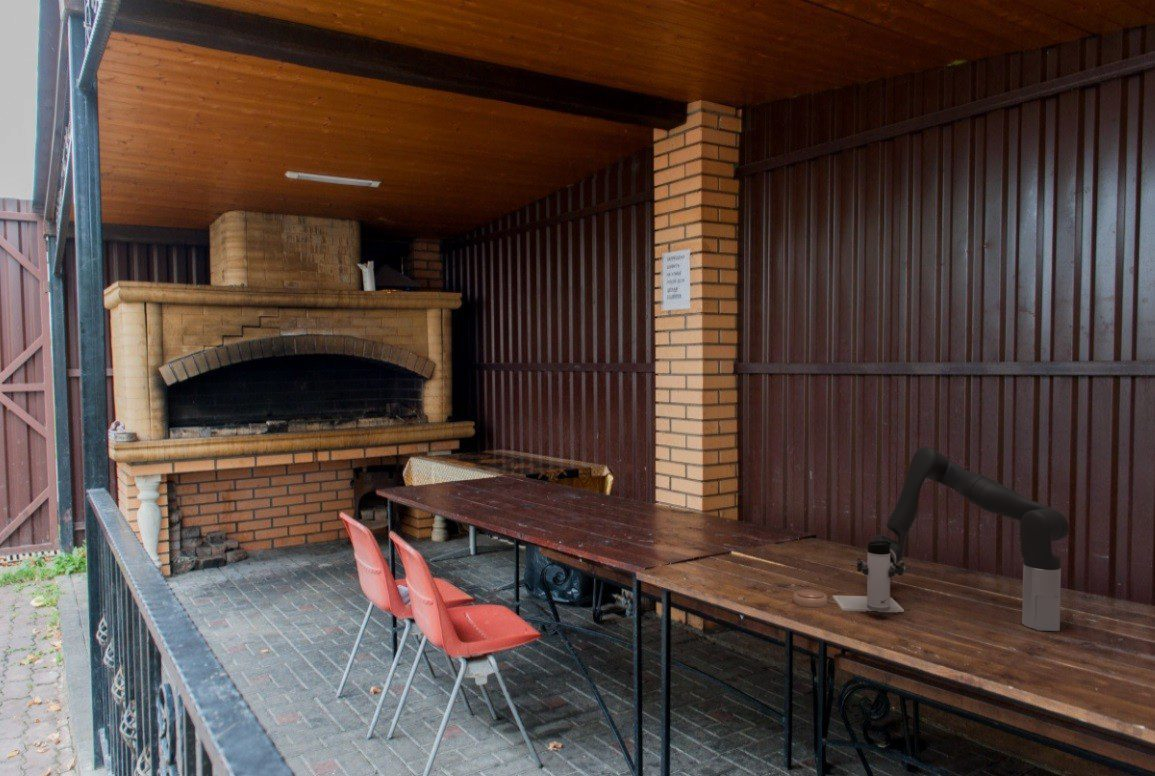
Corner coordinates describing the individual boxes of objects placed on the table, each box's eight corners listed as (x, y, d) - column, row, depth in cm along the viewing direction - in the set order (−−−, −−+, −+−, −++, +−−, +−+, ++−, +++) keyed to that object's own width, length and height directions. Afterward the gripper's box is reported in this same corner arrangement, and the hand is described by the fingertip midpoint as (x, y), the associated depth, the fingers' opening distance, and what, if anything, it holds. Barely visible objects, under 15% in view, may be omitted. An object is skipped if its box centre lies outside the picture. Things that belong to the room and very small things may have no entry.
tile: (904, 612, 240) (904, 609, 240) (842, 610, 242) (842, 607, 242) (891, 599, 253) (891, 596, 253) (832, 597, 255) (832, 595, 255)
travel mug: (888, 613, 232) (889, 544, 231) (864, 609, 235) (865, 541, 235) (892, 607, 237) (893, 540, 236) (869, 603, 241) (870, 537, 240)
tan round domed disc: (830, 607, 245) (830, 598, 245) (796, 606, 246) (796, 597, 246) (823, 598, 255) (823, 588, 255) (791, 597, 256) (791, 587, 256)
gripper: (858, 545, 252) (852, 557, 237) (907, 550, 246) (904, 562, 231) (858, 569, 252) (852, 583, 237) (907, 574, 246) (904, 588, 231)
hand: (878, 573), depth 234 cm, fingers closed on travel mug, 6 cm apart
